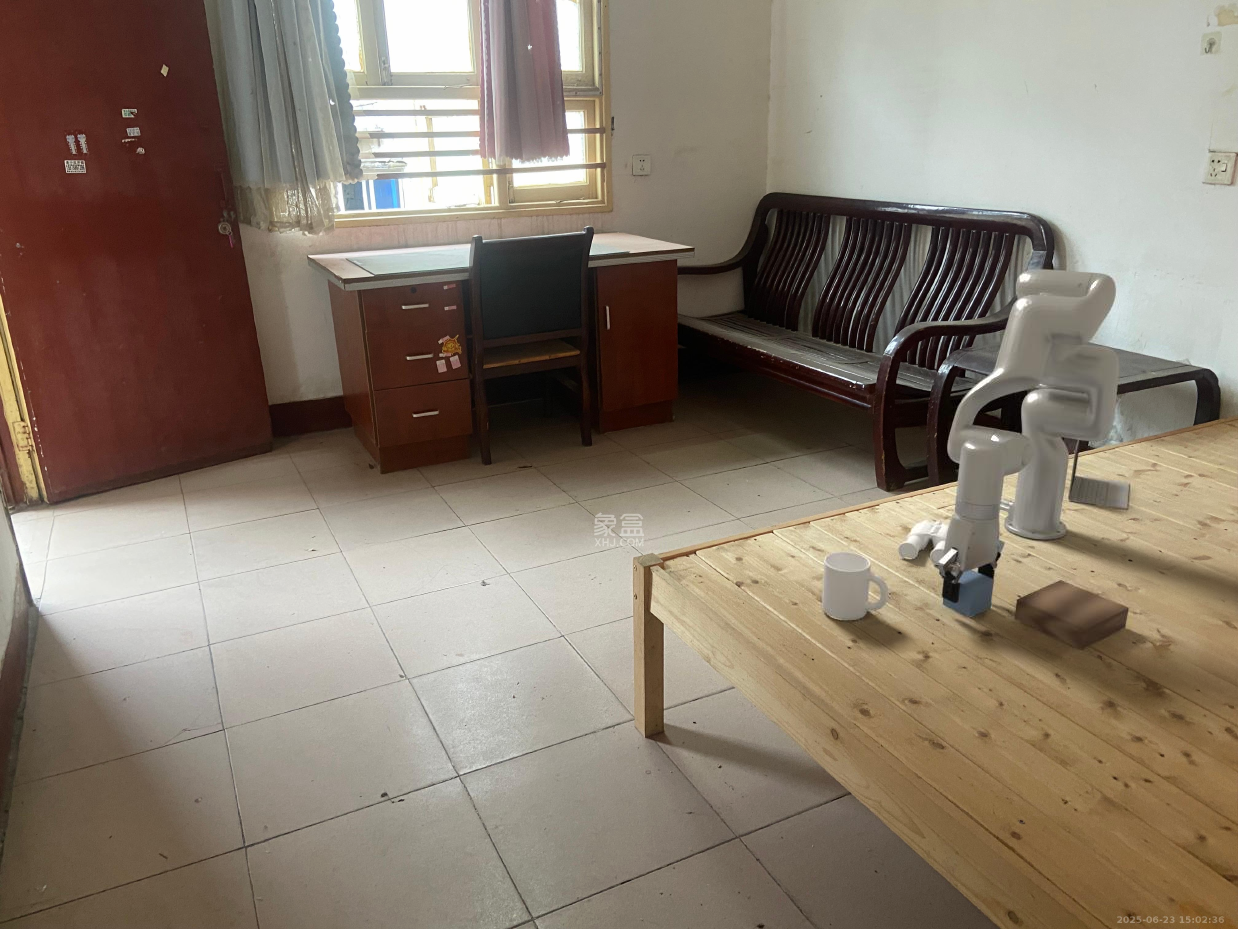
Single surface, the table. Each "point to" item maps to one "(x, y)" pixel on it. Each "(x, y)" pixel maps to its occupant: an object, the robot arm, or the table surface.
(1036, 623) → the walnut base
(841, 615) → the mug
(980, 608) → the slate cube
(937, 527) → the binoculars
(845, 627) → the table surface
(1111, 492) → the laptop
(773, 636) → the table surface
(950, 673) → the table surface
